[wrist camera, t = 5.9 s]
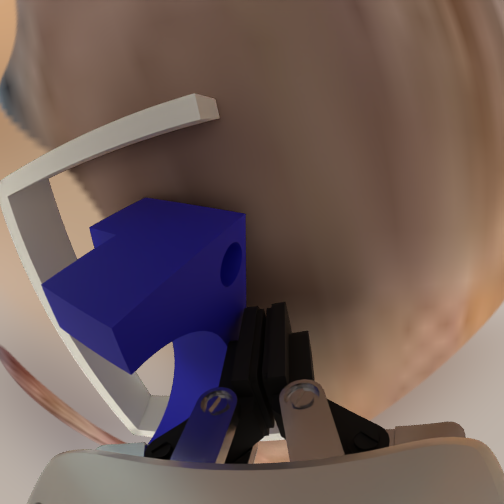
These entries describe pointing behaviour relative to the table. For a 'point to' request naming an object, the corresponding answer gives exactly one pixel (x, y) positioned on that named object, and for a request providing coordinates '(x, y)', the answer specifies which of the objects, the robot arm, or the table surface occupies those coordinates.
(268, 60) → the table surface
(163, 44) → the table surface
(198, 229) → the cable clip
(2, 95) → the table surface
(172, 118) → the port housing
